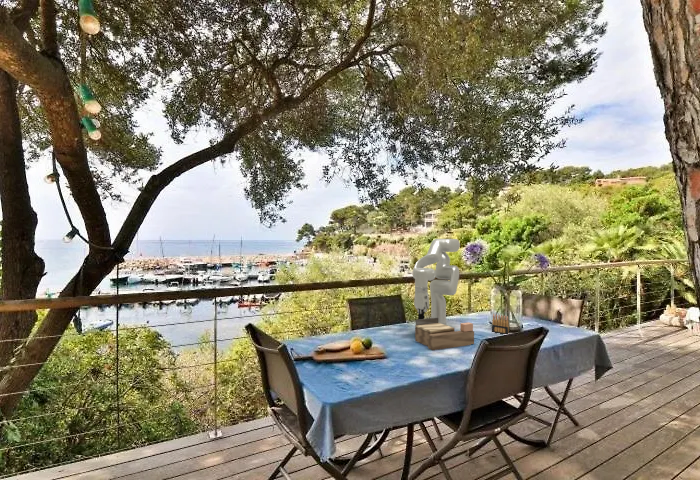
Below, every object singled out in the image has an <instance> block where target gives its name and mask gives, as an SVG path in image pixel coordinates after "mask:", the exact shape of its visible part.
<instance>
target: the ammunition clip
mask: <svg viewBox="0 0 700 480" xmlns="http://www.w3.org/2000/svg"><path fill="white" fill-rule="evenodd" d="M491 324H492V325H491V333H492V332H495V333H494V334H497V333H500V334H499V335H502V336H504V335H503V334H508V333H509V334H510V327H509V326H510V325H509V324H510V323H509V316H508V315H505V314H504V316H503V314H501V316H500V314H497V313H496V314H495V313H493V315H492V323H491Z"/></svg>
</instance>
